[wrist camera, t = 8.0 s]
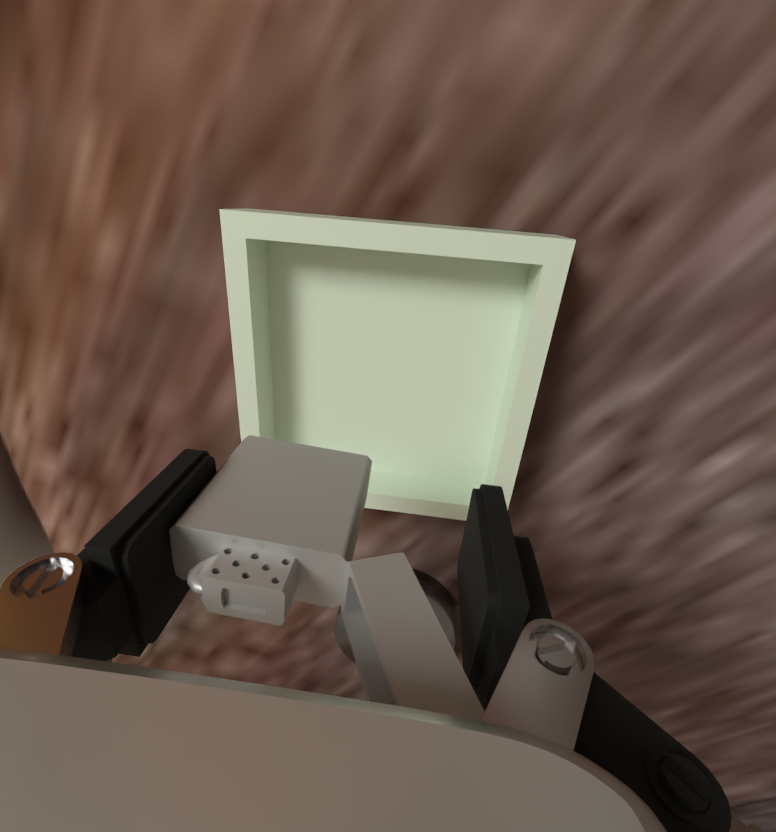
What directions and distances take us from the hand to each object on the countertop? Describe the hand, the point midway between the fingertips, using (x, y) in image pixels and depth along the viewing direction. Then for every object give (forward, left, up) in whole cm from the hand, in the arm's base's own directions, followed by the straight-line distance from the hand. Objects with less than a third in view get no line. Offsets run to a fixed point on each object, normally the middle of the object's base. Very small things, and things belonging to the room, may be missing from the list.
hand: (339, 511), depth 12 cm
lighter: (0, 0, -2) cm, 2 cm away
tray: (0, 0, -12) cm, 12 cm away
